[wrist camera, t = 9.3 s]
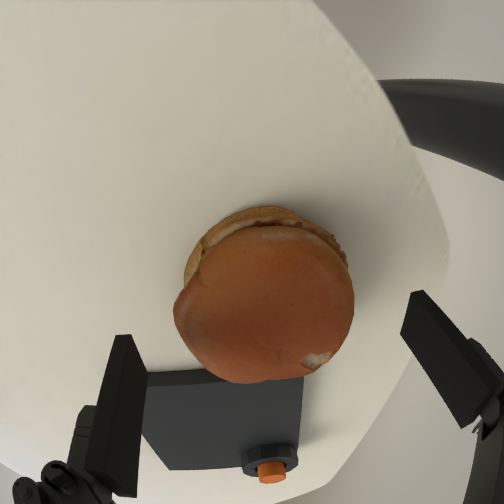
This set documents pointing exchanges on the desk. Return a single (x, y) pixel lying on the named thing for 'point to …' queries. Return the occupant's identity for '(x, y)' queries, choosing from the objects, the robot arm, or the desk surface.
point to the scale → (222, 421)
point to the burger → (265, 297)
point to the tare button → (271, 472)
